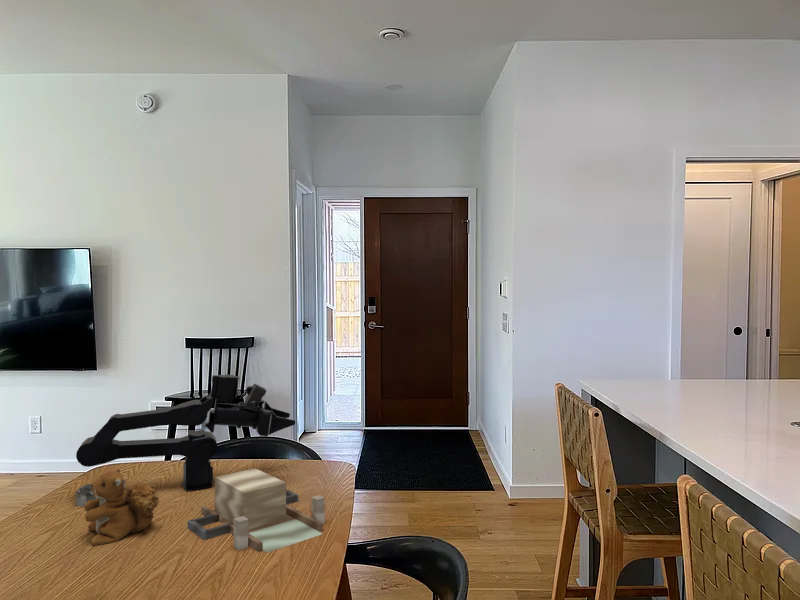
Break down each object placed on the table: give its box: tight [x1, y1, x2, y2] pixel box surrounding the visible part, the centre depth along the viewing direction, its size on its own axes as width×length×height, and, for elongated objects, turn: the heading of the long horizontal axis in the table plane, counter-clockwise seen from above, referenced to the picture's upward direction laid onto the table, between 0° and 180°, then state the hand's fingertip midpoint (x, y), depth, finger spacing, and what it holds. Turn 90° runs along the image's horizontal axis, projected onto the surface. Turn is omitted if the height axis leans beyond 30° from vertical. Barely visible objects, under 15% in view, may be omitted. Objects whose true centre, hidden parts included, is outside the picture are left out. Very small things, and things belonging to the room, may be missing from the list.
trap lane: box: [187, 488, 326, 554], centre depth 122 cm, size 28×26×6 cm
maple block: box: [214, 467, 287, 530], centre depth 126 cm, size 14×10×8 cm
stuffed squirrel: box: [83, 468, 160, 546], centre depth 118 cm, size 10×14×13 cm
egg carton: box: [74, 479, 126, 508], centre depth 137 cm, size 11×8×4 cm
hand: (292, 418), depth 156 cm, fingers open, 9 cm apart
